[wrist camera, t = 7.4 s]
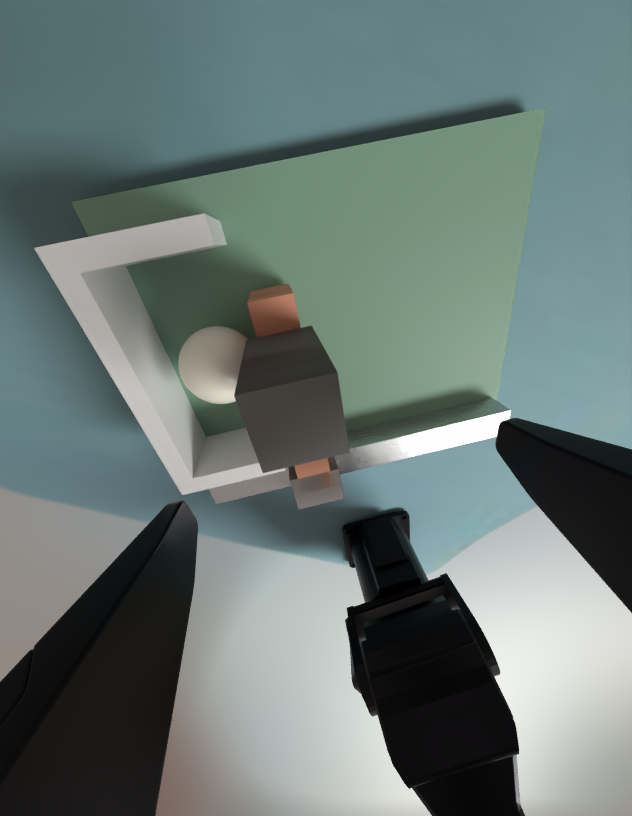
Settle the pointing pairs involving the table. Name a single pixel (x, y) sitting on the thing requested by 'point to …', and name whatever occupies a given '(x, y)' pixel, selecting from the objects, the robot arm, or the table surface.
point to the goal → (148, 345)
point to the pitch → (355, 260)
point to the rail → (393, 443)
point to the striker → (291, 399)
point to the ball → (212, 363)
